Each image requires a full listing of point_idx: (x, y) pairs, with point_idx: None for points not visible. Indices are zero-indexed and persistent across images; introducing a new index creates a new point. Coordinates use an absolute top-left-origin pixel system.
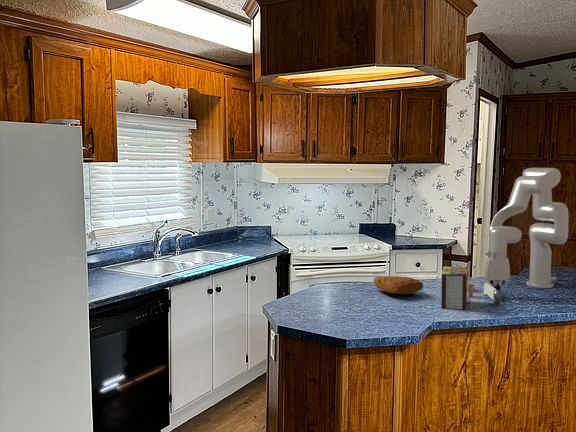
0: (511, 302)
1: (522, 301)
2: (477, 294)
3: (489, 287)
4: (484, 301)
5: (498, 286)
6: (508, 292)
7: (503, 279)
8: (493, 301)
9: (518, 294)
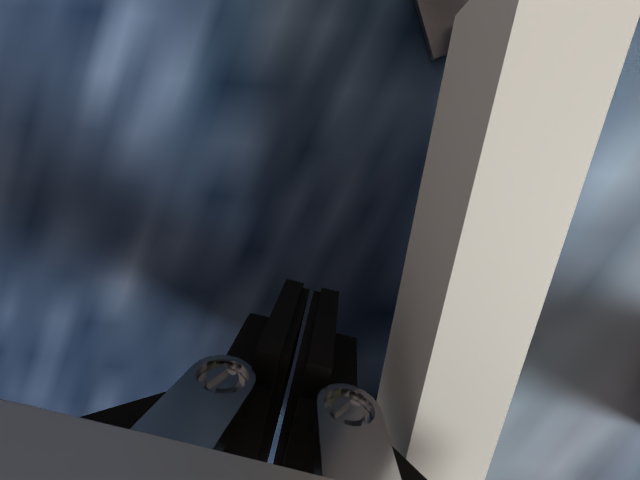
0: (216, 6)
1: (39, 57)
2: None
3: (521, 337)
4: (623, 99)
5: (272, 370)
6: None
7: (37, 432)
8: None
9: (8, 383)
